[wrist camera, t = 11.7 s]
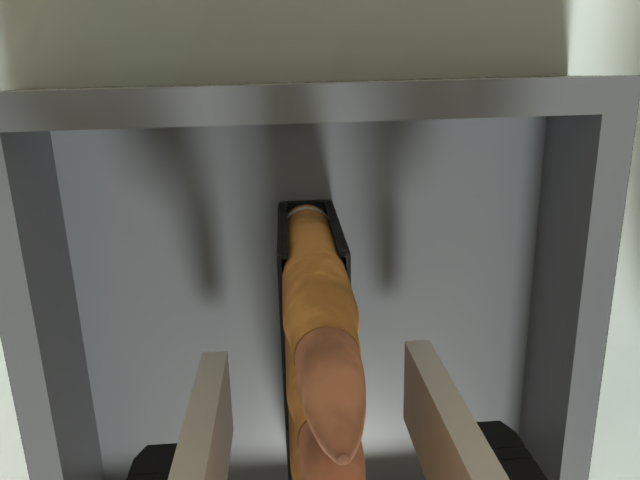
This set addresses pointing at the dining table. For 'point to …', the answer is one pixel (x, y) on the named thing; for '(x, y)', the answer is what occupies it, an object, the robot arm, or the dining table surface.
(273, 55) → the dining table surface
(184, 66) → the dining table surface
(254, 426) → the tray
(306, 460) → the ammunition clip
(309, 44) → the dining table surface
